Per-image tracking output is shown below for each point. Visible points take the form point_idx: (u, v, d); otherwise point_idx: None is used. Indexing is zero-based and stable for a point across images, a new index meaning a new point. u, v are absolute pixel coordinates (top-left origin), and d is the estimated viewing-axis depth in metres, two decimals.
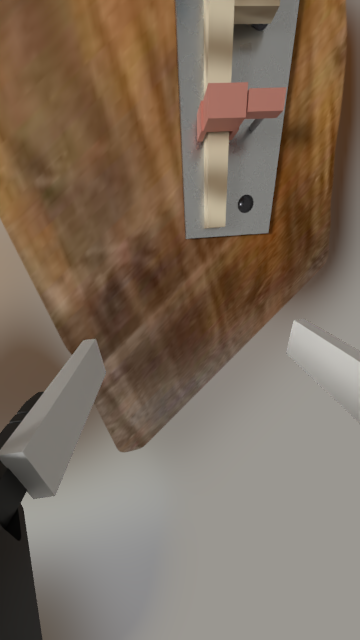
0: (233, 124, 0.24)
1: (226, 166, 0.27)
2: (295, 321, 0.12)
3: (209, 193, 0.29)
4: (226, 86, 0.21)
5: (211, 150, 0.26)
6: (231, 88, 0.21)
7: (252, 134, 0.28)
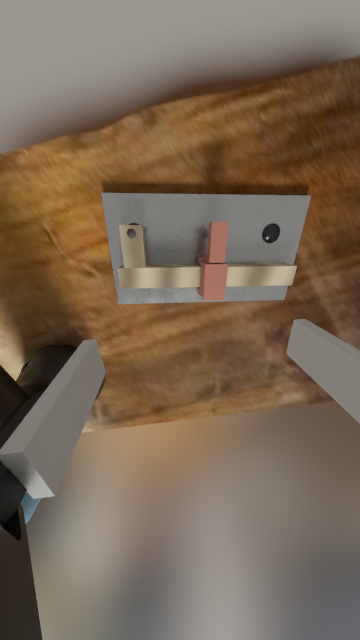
0: None
1: (244, 268, 0.27)
2: (295, 321, 0.12)
3: (262, 284, 0.28)
4: (206, 284, 0.24)
5: (230, 283, 0.28)
6: (207, 280, 0.24)
7: None
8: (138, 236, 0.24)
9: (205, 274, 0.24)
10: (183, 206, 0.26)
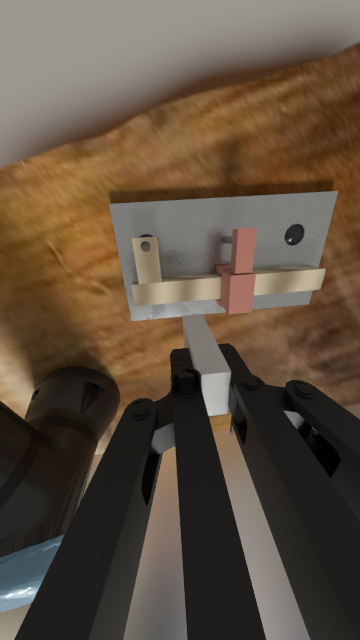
0: None
1: (269, 274, 0.25)
2: (192, 315, 0.14)
3: (288, 291, 0.26)
4: (231, 296, 0.22)
5: None
6: (233, 292, 0.22)
7: None
8: (152, 249, 0.22)
9: (230, 286, 0.21)
10: (199, 212, 0.23)
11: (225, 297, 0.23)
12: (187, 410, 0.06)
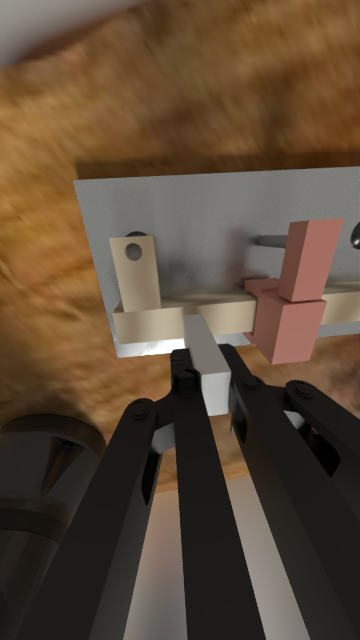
0: None
1: (331, 296, 0.16)
2: (192, 315, 0.14)
3: (355, 319, 0.17)
4: (280, 338, 0.13)
5: None
6: (284, 332, 0.12)
7: None
8: (146, 257, 0.13)
9: (281, 322, 0.12)
10: (223, 196, 0.14)
11: (265, 335, 0.14)
12: (187, 410, 0.06)
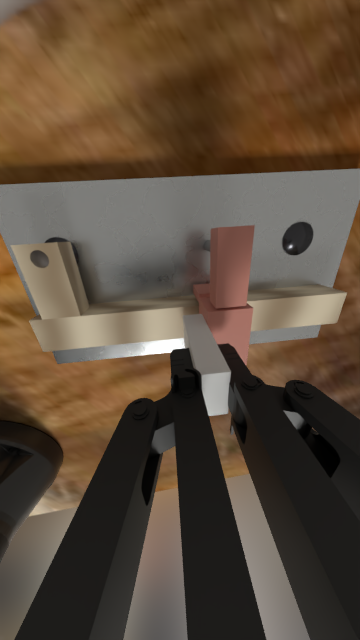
0: None
1: (257, 302, 0.16)
2: (192, 315, 0.14)
3: (288, 325, 0.17)
4: None
5: None
6: (214, 338, 0.12)
7: (197, 243, 0.16)
8: (54, 264, 0.13)
9: None
10: (141, 201, 0.14)
11: None
12: (187, 410, 0.06)
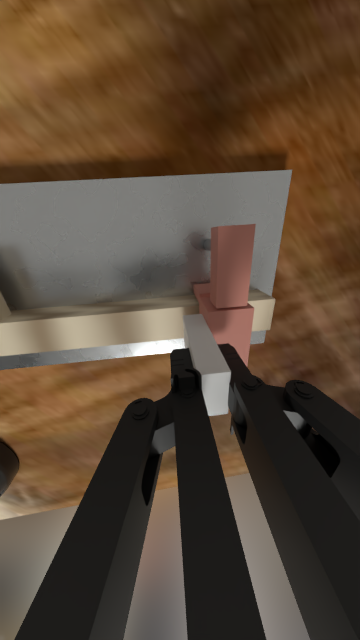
0: None
1: (180, 309, 0.15)
2: (192, 315, 0.14)
3: None
4: None
5: (159, 336, 0.16)
6: None
7: (120, 248, 0.15)
8: None
9: None
10: (52, 205, 0.14)
11: None
12: (187, 410, 0.06)
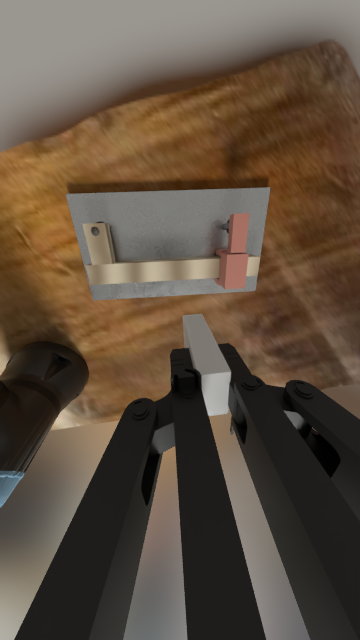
0: None
1: (209, 260, 0.28)
2: (192, 315, 0.14)
3: None
4: (227, 273, 0.26)
5: (196, 276, 0.29)
6: (229, 269, 0.25)
7: (176, 227, 0.28)
8: (101, 234, 0.26)
9: (227, 264, 0.25)
10: (146, 203, 0.27)
11: (222, 275, 0.27)
12: (187, 410, 0.06)
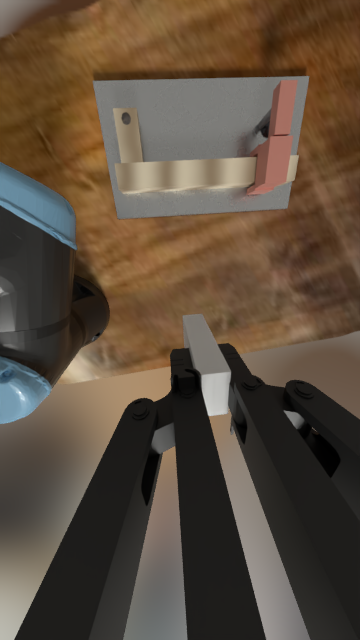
0: None
1: (244, 159, 0.26)
2: (192, 315, 0.14)
3: None
4: (269, 162, 0.24)
5: (230, 179, 0.27)
6: (271, 157, 0.24)
7: (209, 126, 0.27)
8: (133, 122, 0.24)
9: (269, 149, 0.23)
10: (178, 94, 0.25)
11: (261, 170, 0.25)
12: (187, 410, 0.06)
